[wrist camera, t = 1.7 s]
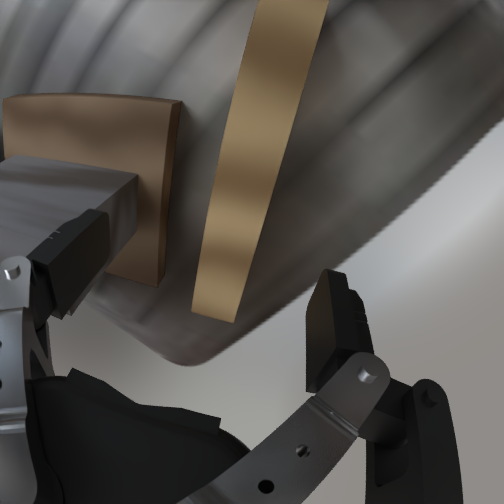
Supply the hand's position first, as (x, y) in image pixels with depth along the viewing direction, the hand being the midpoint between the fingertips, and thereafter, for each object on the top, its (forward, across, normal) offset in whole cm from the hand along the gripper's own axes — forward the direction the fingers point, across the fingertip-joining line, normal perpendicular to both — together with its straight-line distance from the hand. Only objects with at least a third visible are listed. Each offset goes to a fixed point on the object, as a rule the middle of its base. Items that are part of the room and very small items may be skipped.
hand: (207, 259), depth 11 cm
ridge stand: (+13, +15, +5) cm, 20 cm away
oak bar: (+13, 0, -1) cm, 13 cm away
